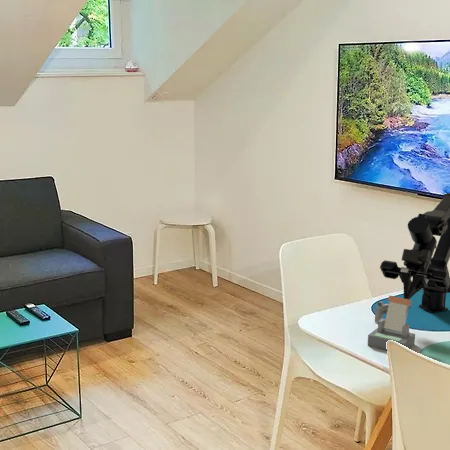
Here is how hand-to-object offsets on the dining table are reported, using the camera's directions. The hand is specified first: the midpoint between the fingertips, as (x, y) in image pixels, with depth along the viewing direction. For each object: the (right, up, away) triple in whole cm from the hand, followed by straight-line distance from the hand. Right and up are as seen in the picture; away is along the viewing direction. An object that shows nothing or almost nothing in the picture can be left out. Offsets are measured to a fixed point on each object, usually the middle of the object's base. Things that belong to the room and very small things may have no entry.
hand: (405, 300), depth 197 cm
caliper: (+1, -6, +19) cm, 20 cm away
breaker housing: (-4, -11, -4) cm, 13 cm away
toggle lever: (-4, -8, -5) cm, 10 cm away
